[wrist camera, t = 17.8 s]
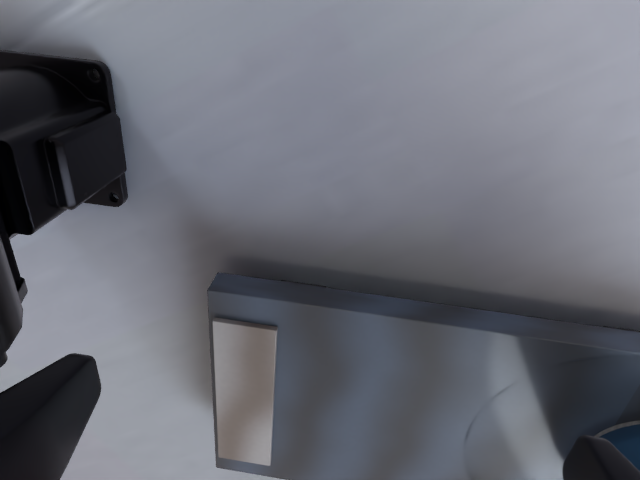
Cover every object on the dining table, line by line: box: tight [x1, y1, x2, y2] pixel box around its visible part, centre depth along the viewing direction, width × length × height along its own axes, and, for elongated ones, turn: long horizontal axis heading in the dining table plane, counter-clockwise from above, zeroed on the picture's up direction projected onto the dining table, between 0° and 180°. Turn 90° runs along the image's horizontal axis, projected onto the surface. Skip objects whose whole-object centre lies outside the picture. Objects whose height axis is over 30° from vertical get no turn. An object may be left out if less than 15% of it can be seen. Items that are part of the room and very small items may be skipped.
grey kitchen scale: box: [207, 273, 640, 480], centre depth 24 cm, size 26×13×3 cm, turn 85°
